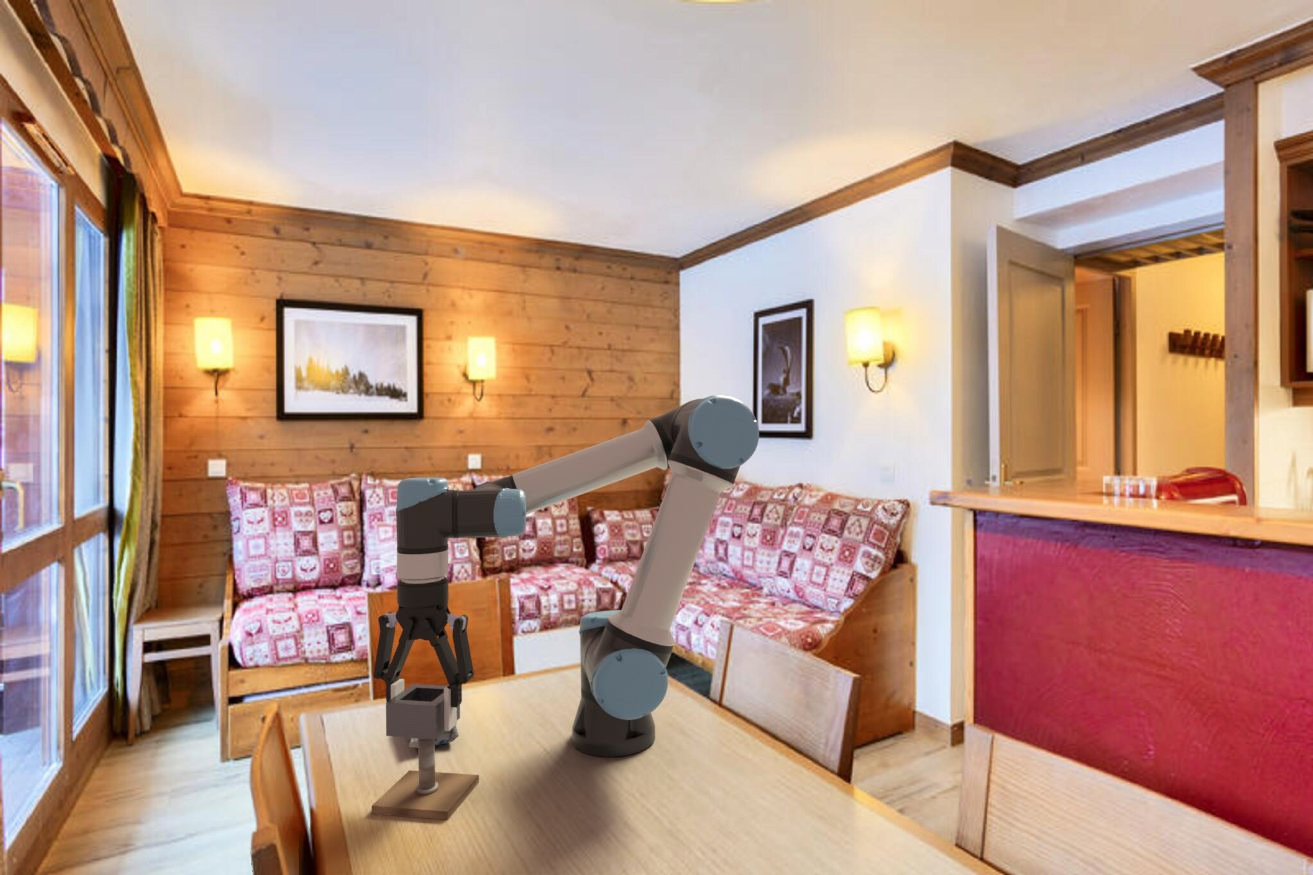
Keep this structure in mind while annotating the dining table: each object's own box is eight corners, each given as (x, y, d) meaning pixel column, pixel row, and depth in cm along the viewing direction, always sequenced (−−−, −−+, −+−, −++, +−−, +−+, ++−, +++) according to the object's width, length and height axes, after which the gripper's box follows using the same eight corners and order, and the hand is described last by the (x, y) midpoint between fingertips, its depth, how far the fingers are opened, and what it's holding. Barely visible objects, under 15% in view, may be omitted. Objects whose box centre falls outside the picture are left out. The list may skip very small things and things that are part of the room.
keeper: (478, 782, 114) (477, 725, 113) (447, 819, 103) (446, 756, 103) (409, 777, 115) (408, 721, 115) (371, 813, 105) (370, 751, 105)
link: (459, 717, 112) (459, 686, 112) (436, 739, 104) (436, 705, 104) (413, 714, 114) (412, 683, 114) (386, 736, 106) (385, 702, 106)
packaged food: (409, 758, 123) (409, 730, 123) (399, 733, 133) (399, 707, 133) (460, 748, 127) (460, 720, 127) (447, 724, 137) (446, 699, 137)
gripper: (496, 575, 111) (497, 719, 111) (374, 571, 114) (375, 711, 114) (476, 585, 103) (477, 740, 104) (346, 581, 107) (347, 731, 107)
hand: (424, 725), depth 109 cm, fingers closed on link, 8 cm apart
